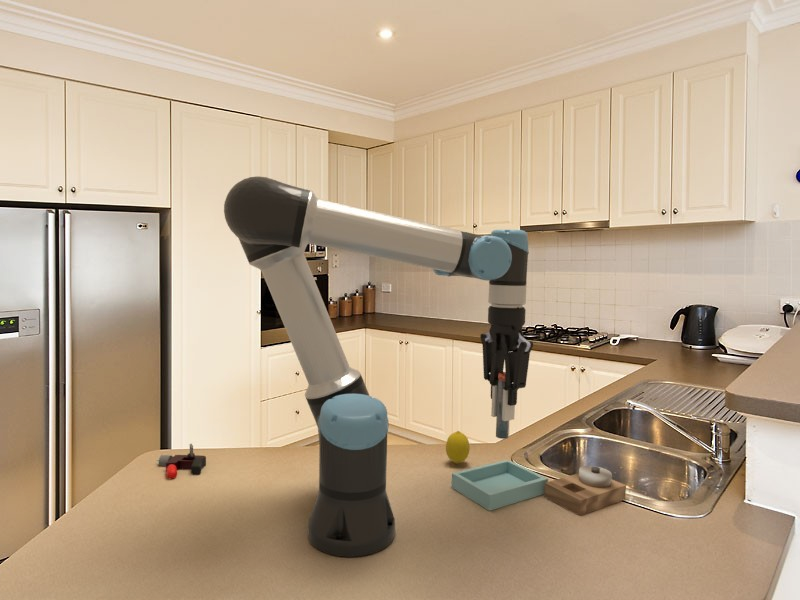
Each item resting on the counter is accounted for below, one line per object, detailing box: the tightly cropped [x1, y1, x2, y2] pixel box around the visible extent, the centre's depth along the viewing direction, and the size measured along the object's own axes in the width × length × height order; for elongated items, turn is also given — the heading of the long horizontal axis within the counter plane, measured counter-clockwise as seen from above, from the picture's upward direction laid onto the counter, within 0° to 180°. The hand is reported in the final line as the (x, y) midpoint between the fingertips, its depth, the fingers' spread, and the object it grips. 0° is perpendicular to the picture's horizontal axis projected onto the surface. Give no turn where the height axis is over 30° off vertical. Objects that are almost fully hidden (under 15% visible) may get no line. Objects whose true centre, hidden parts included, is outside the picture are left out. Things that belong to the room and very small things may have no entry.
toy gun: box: [156, 443, 207, 480], centre depth 118 cm, size 10×12×5 cm
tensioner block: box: [543, 465, 627, 516], centre depth 110 cm, size 14×9×6 cm, turn 122°
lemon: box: [445, 430, 470, 465], centre depth 126 cm, size 6×6×8 cm
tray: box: [451, 459, 549, 511], centre depth 113 cm, size 16×12×3 cm
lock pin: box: [495, 371, 510, 440], centre depth 111 cm, size 3×3×14 cm
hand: (502, 417), depth 111 cm, fingers closed on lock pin, 2 cm apart
